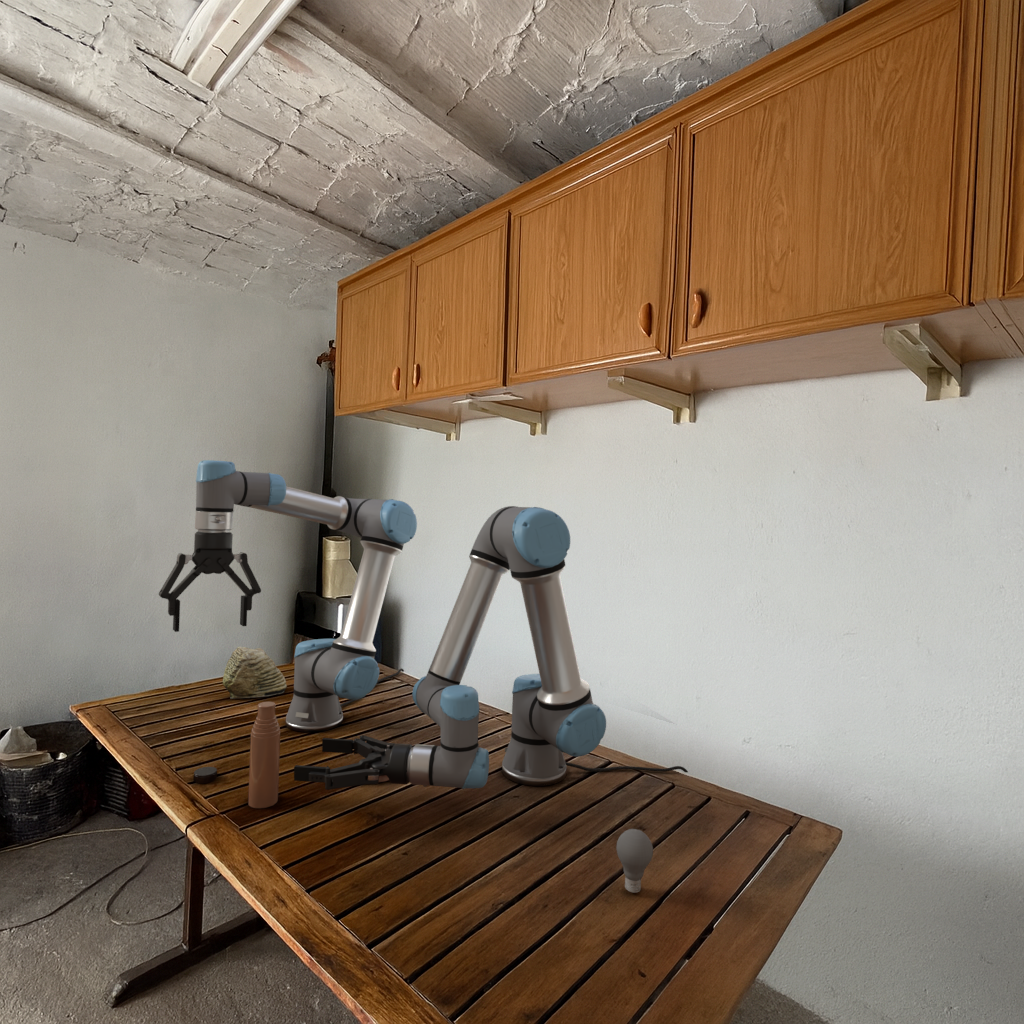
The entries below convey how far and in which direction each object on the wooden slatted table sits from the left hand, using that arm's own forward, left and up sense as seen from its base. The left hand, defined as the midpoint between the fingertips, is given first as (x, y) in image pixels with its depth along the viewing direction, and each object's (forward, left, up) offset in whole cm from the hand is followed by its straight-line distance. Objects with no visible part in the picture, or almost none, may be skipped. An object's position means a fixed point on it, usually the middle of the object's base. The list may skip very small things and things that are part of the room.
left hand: (210, 627), depth 139 cm
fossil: (-38, -47, -34) cm, 69 cm away
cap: (0, 0, -32) cm, 32 cm away
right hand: (-8, +27, -24) cm, 36 cm away
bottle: (-3, +18, -34) cm, 38 cm away
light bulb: (-28, +90, -34) cm, 100 cm away
